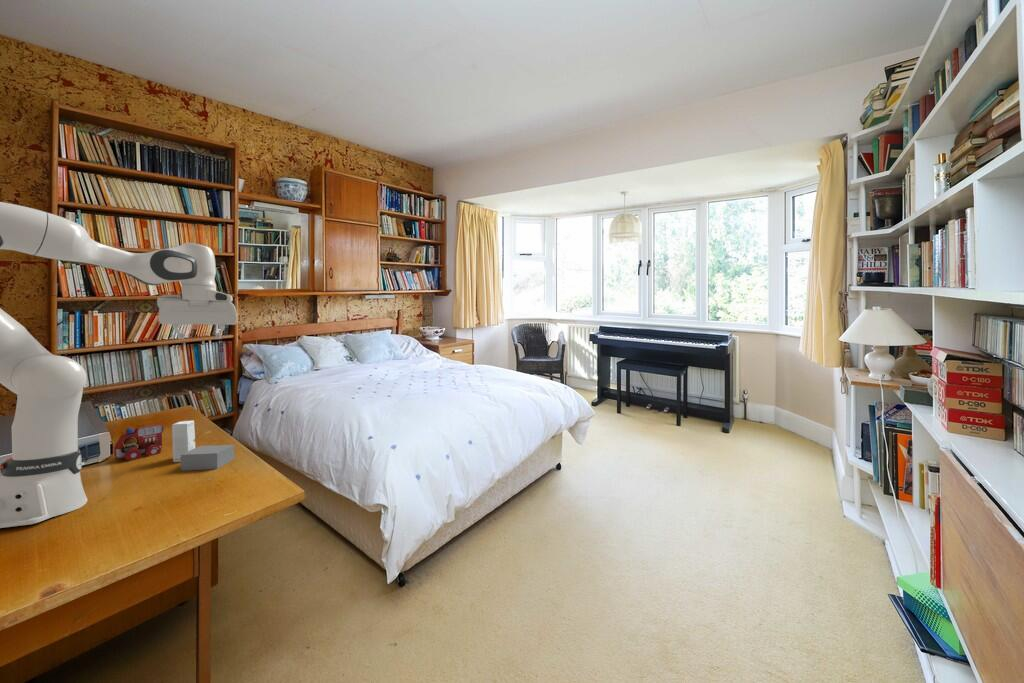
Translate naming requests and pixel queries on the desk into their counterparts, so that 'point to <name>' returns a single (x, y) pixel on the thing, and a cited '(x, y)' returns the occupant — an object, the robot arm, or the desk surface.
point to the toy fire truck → (139, 442)
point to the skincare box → (182, 438)
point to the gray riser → (207, 457)
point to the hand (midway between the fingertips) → (200, 339)
